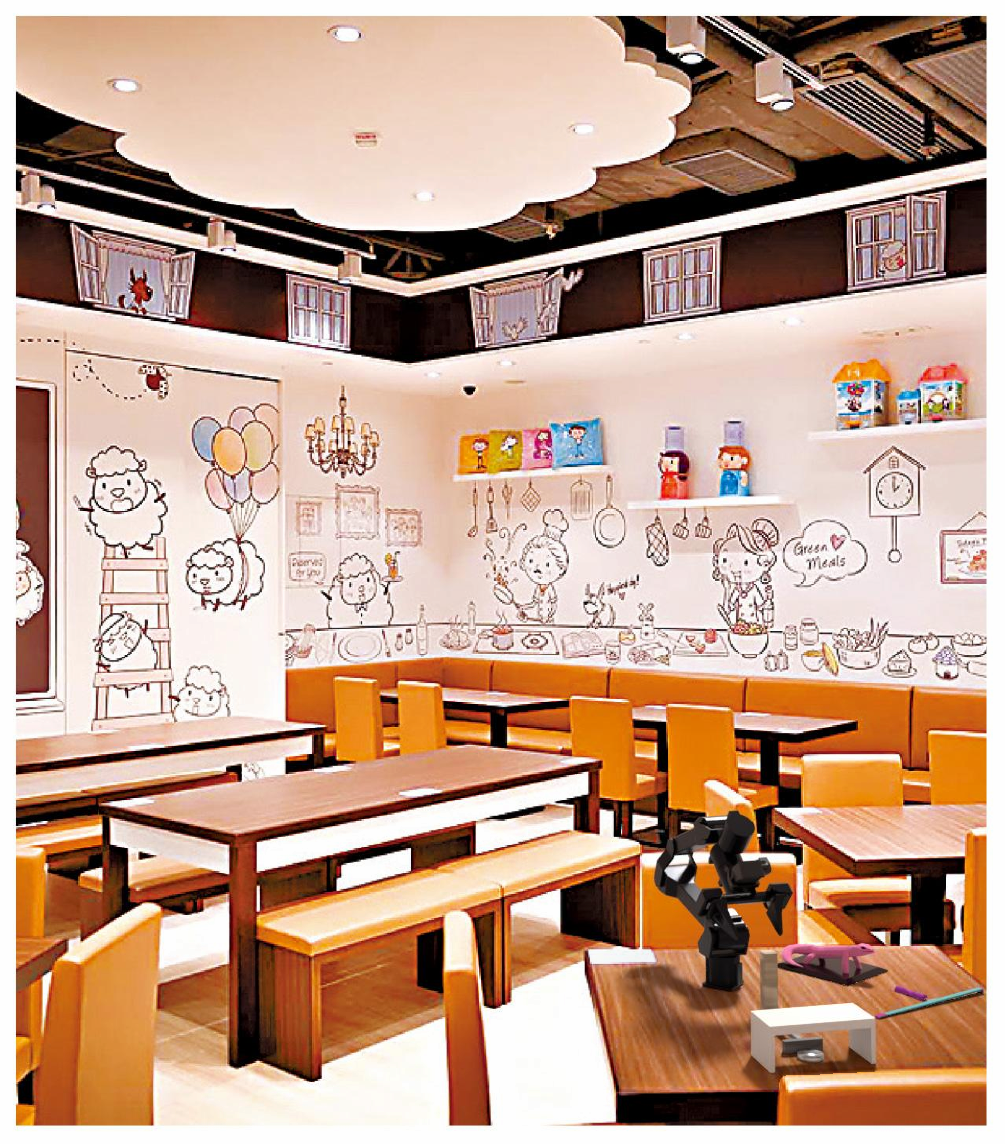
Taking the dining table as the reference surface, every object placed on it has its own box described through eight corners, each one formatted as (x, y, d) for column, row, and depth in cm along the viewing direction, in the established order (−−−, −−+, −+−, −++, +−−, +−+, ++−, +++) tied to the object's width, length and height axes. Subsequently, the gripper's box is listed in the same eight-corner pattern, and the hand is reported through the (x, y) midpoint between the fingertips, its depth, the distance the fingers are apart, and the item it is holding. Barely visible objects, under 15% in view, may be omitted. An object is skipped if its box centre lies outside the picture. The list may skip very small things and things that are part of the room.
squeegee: (942, 973, 247) (983, 987, 238) (942, 982, 247) (983, 995, 238) (839, 1000, 233) (879, 1015, 224) (839, 1009, 233) (879, 1024, 224)
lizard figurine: (854, 991, 242) (854, 954, 243) (772, 968, 258) (771, 934, 258) (894, 976, 252) (893, 940, 252) (812, 955, 267) (812, 921, 267)
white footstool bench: (751, 1055, 207) (750, 1010, 207) (853, 1046, 210) (852, 1003, 211) (770, 1072, 199) (769, 1026, 199) (876, 1063, 203) (875, 1018, 203)
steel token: (793, 1060, 205) (793, 1054, 205) (802, 1052, 209) (802, 1047, 209) (818, 1066, 203) (818, 1060, 203) (827, 1057, 206) (827, 1052, 206)
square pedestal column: (747, 1021, 224) (746, 950, 224) (782, 1018, 225) (781, 947, 225) (784, 1053, 207) (783, 977, 208) (823, 1050, 209) (821, 974, 209)
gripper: (698, 846, 234) (726, 915, 222) (786, 840, 239) (817, 907, 227) (683, 881, 241) (709, 950, 229) (768, 875, 246) (798, 942, 234)
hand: (759, 936), depth 230 cm, fingers open, 9 cm apart
